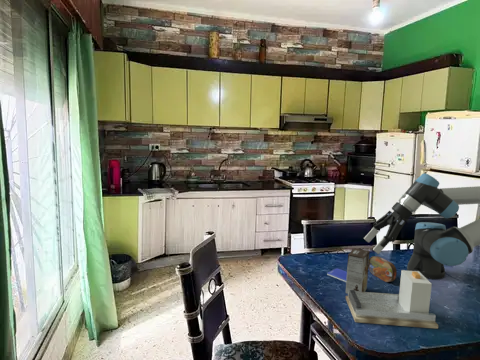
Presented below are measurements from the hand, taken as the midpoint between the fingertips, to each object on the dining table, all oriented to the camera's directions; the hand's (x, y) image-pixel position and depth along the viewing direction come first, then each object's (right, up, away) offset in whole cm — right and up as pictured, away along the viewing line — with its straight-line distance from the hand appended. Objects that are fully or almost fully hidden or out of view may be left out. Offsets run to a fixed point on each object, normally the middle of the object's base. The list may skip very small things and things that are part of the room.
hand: (370, 246), depth 141 cm
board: (-3, -19, -23) cm, 30 cm away
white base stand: (-3, -18, -23) cm, 29 cm away
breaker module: (+5, -17, -24) cm, 30 cm away
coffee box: (-9, -17, -7) cm, 20 cm away
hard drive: (-9, -15, +6) cm, 19 cm away
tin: (+7, -15, +6) cm, 18 cm away
